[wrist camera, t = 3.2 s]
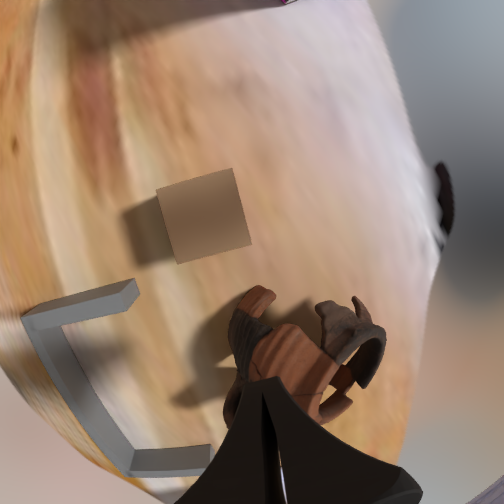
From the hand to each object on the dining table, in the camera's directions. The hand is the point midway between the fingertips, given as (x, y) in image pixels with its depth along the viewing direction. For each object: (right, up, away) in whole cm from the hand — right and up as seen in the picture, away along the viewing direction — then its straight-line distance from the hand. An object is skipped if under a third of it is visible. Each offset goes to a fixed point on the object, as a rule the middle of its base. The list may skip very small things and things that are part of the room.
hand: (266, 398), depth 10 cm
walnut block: (-3, +8, +8) cm, 12 cm away
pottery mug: (+2, -1, +11) cm, 11 cm away
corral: (-10, -6, +11) cm, 16 cm away
